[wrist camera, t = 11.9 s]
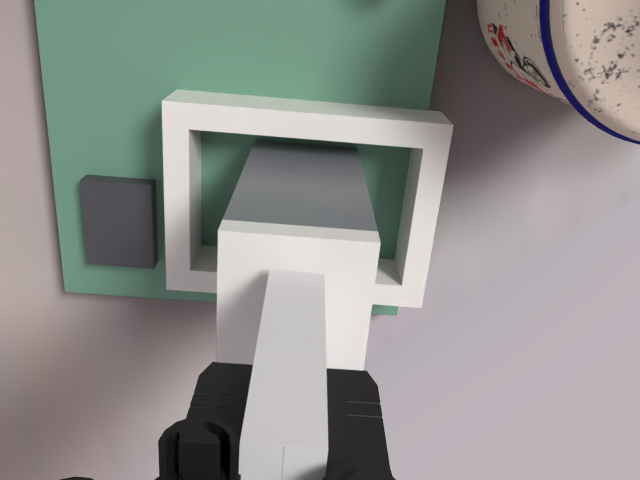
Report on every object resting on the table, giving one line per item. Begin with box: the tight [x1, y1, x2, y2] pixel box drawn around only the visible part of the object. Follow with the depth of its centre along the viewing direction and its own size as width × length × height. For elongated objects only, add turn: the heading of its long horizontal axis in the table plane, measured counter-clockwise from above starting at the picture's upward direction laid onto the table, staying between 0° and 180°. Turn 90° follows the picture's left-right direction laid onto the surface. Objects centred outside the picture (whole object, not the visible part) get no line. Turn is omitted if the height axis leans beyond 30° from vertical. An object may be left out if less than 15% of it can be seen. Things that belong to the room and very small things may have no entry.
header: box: [162, 89, 454, 308], centre depth 25 cm, size 8×11×3 cm
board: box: [34, 0, 446, 315], centre depth 24 cm, size 18×16×3 cm
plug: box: [216, 140, 381, 371], centre depth 21 cm, size 5×4×10 cm
